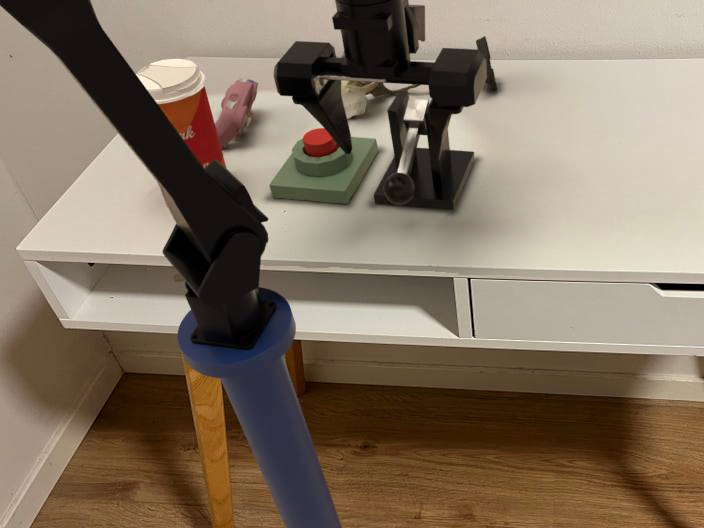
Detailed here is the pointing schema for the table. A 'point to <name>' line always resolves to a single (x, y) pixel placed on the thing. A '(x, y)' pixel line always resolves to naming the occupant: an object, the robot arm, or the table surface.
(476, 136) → the table surface
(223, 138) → the pink toy car
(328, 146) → the button
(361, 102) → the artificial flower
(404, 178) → the lever
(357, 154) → the control block
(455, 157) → the bracket
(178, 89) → the paper cup
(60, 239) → the table surface
